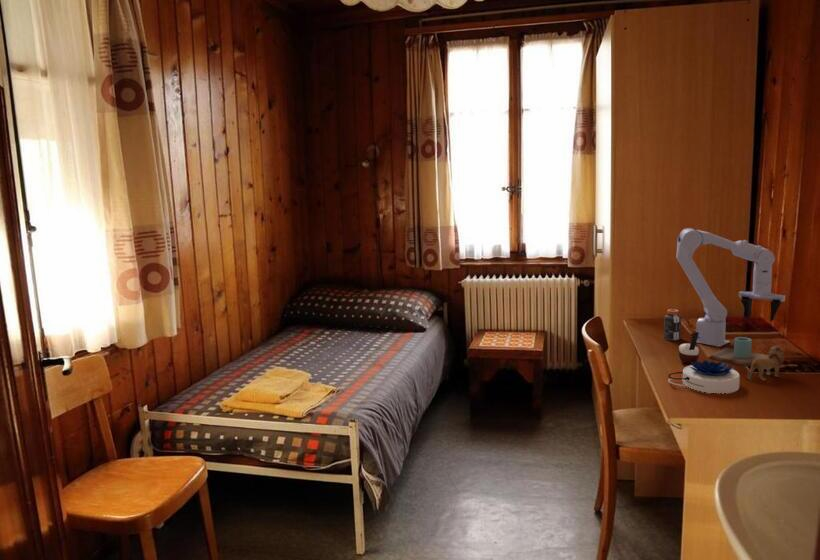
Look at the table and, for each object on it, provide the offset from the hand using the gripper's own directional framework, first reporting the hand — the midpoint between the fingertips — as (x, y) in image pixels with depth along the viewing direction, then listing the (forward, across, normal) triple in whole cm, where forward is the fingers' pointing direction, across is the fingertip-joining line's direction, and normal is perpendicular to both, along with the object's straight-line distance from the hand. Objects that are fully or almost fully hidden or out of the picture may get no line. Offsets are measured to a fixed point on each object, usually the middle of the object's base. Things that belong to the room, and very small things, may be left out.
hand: (760, 318), depth 220 cm
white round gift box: (+10, -1, -52) cm, 53 cm away
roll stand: (+9, +1, -21) cm, 23 cm away
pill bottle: (+10, -27, -10) cm, 31 cm away
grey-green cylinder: (+8, +1, -21) cm, 23 cm away
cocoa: (+10, -12, -35) cm, 38 cm away
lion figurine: (+10, +11, -35) cm, 38 cm away
